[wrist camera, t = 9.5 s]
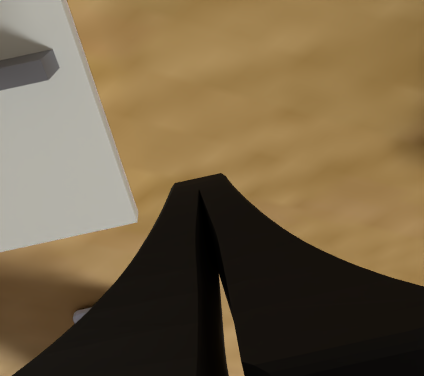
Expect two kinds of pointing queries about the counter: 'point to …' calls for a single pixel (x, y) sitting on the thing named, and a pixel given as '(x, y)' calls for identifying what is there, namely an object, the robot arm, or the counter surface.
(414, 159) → the counter surface
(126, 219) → the rail board
